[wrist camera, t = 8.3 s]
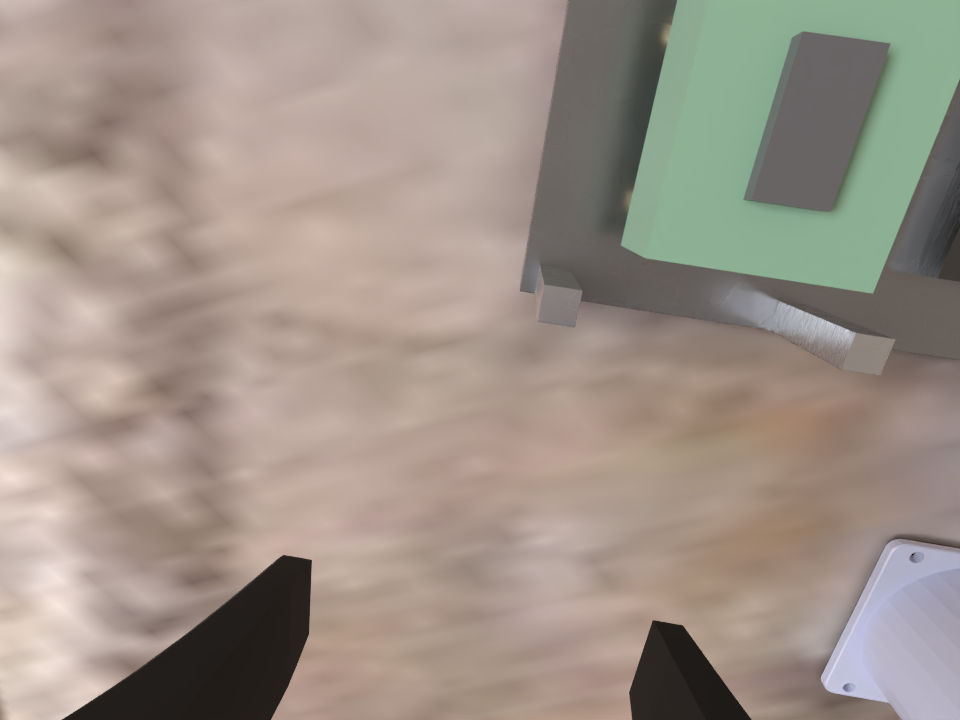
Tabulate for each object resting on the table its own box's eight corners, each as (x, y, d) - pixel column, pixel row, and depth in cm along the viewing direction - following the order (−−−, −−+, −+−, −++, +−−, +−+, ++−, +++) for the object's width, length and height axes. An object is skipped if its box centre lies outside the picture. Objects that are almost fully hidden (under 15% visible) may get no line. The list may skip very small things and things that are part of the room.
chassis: (1248, -47, 14) (1636, -175, 9) (1029, 365, 17) (1218, 429, 13) (590, -130, 14) (623, -292, 9) (520, 286, 18) (518, 318, 13)
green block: (925, -80, 11) (1087, -191, 8) (800, 273, 14) (885, 297, 11) (702, -110, 11) (772, -230, 8) (620, 245, 14) (649, 260, 11)
